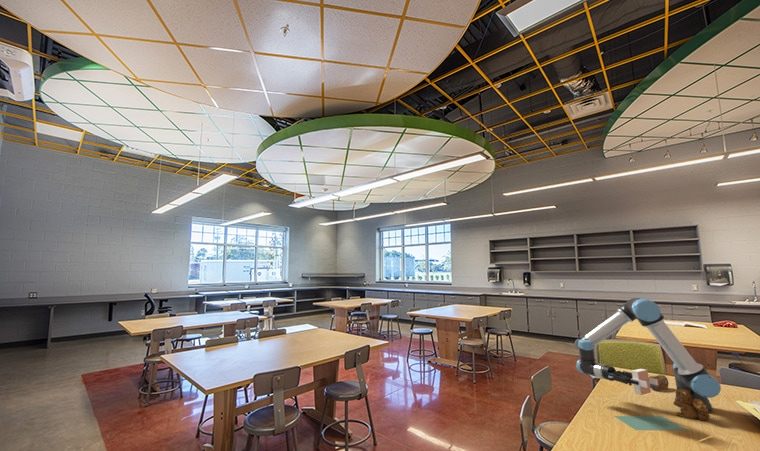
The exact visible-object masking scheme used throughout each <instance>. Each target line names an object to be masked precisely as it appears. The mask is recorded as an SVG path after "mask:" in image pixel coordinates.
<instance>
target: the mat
mask: <svg viewBox="0 0 760 451" xmlns="http://www.w3.org/2000/svg"><path fill="white" fill-rule="evenodd" d="M613 417H615V418H616V419H618V420H619V421H621V422H622V423H624V424H625V425H627V426H629V427H630V428H632V429H633V430H635V431H688V429H687V428H685V427H683V426H681V425H680V424H678V423H676V422H674V421H672V420H669V419H667V418H665V417H664V416H661V415H613Z"/></svg>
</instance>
